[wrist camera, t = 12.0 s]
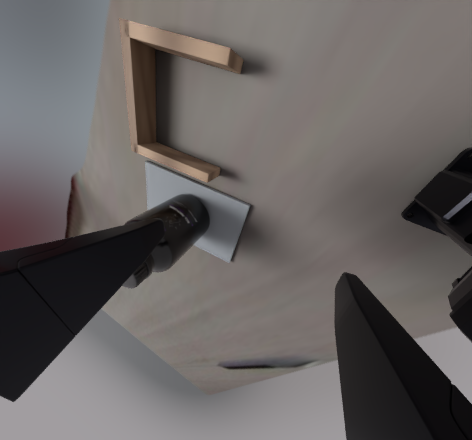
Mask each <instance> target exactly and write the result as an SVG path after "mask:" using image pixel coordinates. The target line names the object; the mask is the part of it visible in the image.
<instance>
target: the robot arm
mask: <svg viewBox="0 0 472 440" xmlns="http://www.w3.org/2000/svg"><path fill="white" fill-rule="evenodd" d="M471 152H472V148H467V149H465V150H464V151H462V152H461V153H460V154H459V155H458V156H457V157H456V158H455V159H454V160H453V161H452V162H451V163H450V164H449V165H448V166H447V167H446V168H445V169H444V170H443V171H441V172H439V173H438V174H437V175H436V176H435V177H434V178H433V179H432V180H431V181H430V182H429V183H428V184H427V185H426V186H425V187H424V188H423V189H422V190H421V191H420V192H419V193H418V194H417V195H416V197H415V200H414V201H413V202H412V203H411V204H410V205H409V206H408V207H407V208H406V209H405V210H404V211H403V212H402V213H401V216H402V217H403V218H404V219H405V220H407V221H410V222H413V223H415V224H418V225H421V226H423V227H426V228H428V229H431V230H434V231H436V232H439V233H441V234H444V235H447V236H448V237H449V238H451V239H452V240H453V241H454V242H455V243H457V244H458V245H459V246H460V247H461V248H463V249H464V250H465V251H466V252H467V253H469V254H470V255H471V256H472V156H471V157H470V158H468V155H469V154H470V153H471ZM409 213H412V214H411V215H410V216H407V214H409ZM164 235H165V228H164V223H163V221H162V220H161V219H157V218H153V219H149V220H144V221H140V222H136V223H131V224H127V225H123V226H118V227H114V228H110V229H105V230H101V231H97V232H92V233H88V234H84V235H79V236H75V237H70V238H66V239H62V240H57V241H53V242H48V243H43V244H38V245H33V246H28V247H23V248H18V249H13V250H7V251H2V252H0V396H2V397H4V398H6V399H8V400H10V401H12V402H14V401H16V399H18V398H19V397H20V396H21V395H22V394H23V393H24V392H25V390H26V389H27V388H28V387H29V386H30V385H31V384H32V383H33V382H34V381H35V380H36V379H37V377H38V376H39V375H40V374H41V373H42V372H43V371H44V370H45V369H46V368H47V367H48V365H50V363H51V362H52V361H53V360H54V359H55V358H56V357H57V356H58V355H59V354H60V353H61V352H62V350H63V349H64V348H65V347H66V346H67V345H68V344H69V343H70V342H71V341H72V339H73V338H74V337H75V335H77V334H78V333H79V332H80V330H82V328H83V327H84V326H85V325H86V324H87V323H88V322H89V321H90V320H91V319H92V317H93V316H94V315H95V314H96V313H97V312H98V311H99V310H100V309H101V308H102V307H103V306H104V305H105V304H106V302H107V301H108V300H109V299H110V298H111V297H112V296H113V295H114V294H115V293H116V292H117V290H118V289H119V288H120V287H121V286H122V285H123V284H124V283H125V282H126V281H127V280H128V279H129V277H130V276H131V275H132V274H133V273H134V272H135V271H136V270H137V269H138V268H139V267H140V266H141V264H142V263H143V262H144V261H145V260H146V259H147V258H148V257H149V255H150V254H151V253H152V251H153V250H154V249H155V248H156V246H157V245H158V244H159V242H160V241H161V240H162V238H163V237H164ZM452 286H453V289H452V291H451V293H450V294H449V296H448V298H449V302H450V306H451V309H452V312H451V313H450V317H451V318H452V320H453V321H454V322H455V324H456V325H457V326H458V328H459V329H460V330H461V332H462V333H463V334H464V335H465V336H466V337H467V338H468V339H469V340H470V341H471V342H472V267H471V268H470V269H469V270H468V271H467V272H466V273H465V274H464V275H463V276H462V277H461V278H457V279H456V280H455V281H454V282H453V283H452ZM335 336H336V346H337V355H338V364H339V374H340V383H341V393H342V402H343V411H344V420H345V430H346V438H347V440H472V404H471V403H470V402H469V401H468V400H467V398H466V397H465V396H464V395H463V394H462V393H461V392H460V391H459V390H458V388H457V387H456V386H455V385H453V384H451V381H450V380H449V379H448V377H447V376H446V375H445V374H444V373H443V372H442V371H441V370H440V368H439V367H438V366H437V365H436V364H435V363H434V362H433V361H432V359H431V358H430V357H429V356H428V355H427V354H426V353H425V352H424V351H423V350H422V348H421V347H420V346H419V345H418V344H417V343H416V342H415V340H414V339H413V338H412V337H411V336H410V335H409V334H408V333H407V332H406V330H405V329H404V328H403V327H402V326H401V325H400V324H399V323H398V321H397V320H396V319H395V318H394V317H393V316H392V315H391V314H390V313H389V311H388V310H387V309H386V308H385V307H384V306H383V305H382V304H381V303H380V301H379V300H378V299H377V298H376V297H375V296H374V295H373V294H372V292H371V291H370V290H369V289H368V288H367V287H366V286H365V285H364V284H363V282H362V281H361V280H360V279H359V278H358V277H357V276H356V275H354V274H350V273H347V272H344V273H343V274H342V276H341V277H340V279H339V281H338V283H337V285H336V288H335Z"/></svg>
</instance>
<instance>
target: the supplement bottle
mask: <svg viewBox="0 0 472 440" xmlns="http://www.w3.org/2000/svg"><path fill="white" fill-rule="evenodd" d="M153 218H157V219H161V220H162V221H163V223H164V228H165V235H164V237H163V238H162V240H161V241H160V242H159V244H158V245H157V246H156V248H155V249H154V250H153V251H152V253H151V254H150V255H149V257H148V258H147V259H146V260H145V261H144V262H143V263H142V264H141V266H140V267H139V268H138V269H137V270H136V271H135V272H134V273H133V274H132V275H131V276H130V277H129V279H128V280H127V281H126V282H125V283H124V284H123V285H122V286H124V287H127V288H131V289H132V288H135V287H137V286H138V285H139V284H140V283H141V282H142V281H143V280H144V279H146V278H148V277H149V276H150V275H151V273H152V272H163V271H166V270H168V269H169V268H171V267H172V266H173V265H174V264H175V263H176V262H177V261H178V260H179V259H180V258H181V257H182V256H183V255H184V254H185V253H186V252H187V251H188V250H189V249H190V248H191V247H192V246H193V245H194V244H195V243H196V242H197V241H198V240H199V239H200V238H201V237H202V236H203V235H204V234H205V233H206V231H207V230H208V228H209V225H210V216H209V213H208V211H207V209H206V207H205V205H204V204H203V203H202V202H201V201H200V200H199V199H197V198H196V197H194V196H192V195H188V194H180V195H177V196H175V197H173V198H171V199H169V200H167V201H165V202H163V203H161V204H159V205H157V206H155V207H153V208H152V209H150V210H148V211H146V212H144V213H142V214H140V215H138V216H136V217H134V218H132V219H131V220H129V221H128V222H126V223H125V225H127V224H131V223H136V222H140V221H144V220H149V219H153Z"/></svg>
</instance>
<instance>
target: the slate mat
mask: <svg viewBox="0 0 472 440" xmlns="http://www.w3.org/2000/svg"><path fill="white" fill-rule="evenodd" d="M145 167H146V186H147V206H148V210H150V209H152V208H153V207H155V206H157V205H159V204H161V203H163V202H165V201H167V200H169V199H171V198H173V197H175V196H177V195H180V194H188V195H192V196H194V197H196V198H197V199H199V200H200V201H201V202H202V203H203V204H204V205H205V207H206V209H207V211H208V213H209V216H210V225H209V228H208V230H207V231H206V233H205V234H204V235H203V236H202V237H201V238H200V239H199V240H198V241H197V242H196V243H195V244H194V246H196V247H198V248H200V249H202V250H204V251H206V252H208V253H210V254H212V255H214V256H216V257H218V258H220V259H222V260H224V261H226V262H228V263H230V261H231V258H232V256H233V253H234V250H235V247H236V244H237V242H238V239H239V236H240V233H241V230H242V228H243V225H244V222H245V219H246V217H247V214H248V211H249V208H250V204H248V203H246V202H243V201H241V200H239V199H236V198H234V197H232V196H229V195H227V194H225V193H222V192H220V191H218V190H215V189H213V188H211V187H208V186H206V185H204V184H201V183H199V182H197V181H194V180H192V179H190V178H187V177H185V176H183V175H180V174H178V173H176V172H173V171H171V170H169V169H166V168H164V167H162V166H159V165H157V164H155V163H152V162H150V161H145Z"/></svg>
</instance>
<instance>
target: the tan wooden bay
mask: <svg viewBox="0 0 472 440" xmlns="http://www.w3.org/2000/svg"><path fill="white" fill-rule="evenodd" d="M119 23H120V34H121V45H122V55H123V66H124V77H125V87H126V98H127V108H128V119H129V130H130V140H131V151H134V152H136V153H138V154H141V155H143V156H146V157H148V158H150V159H153V160H155V161H157V162H160V163H162V164H164V165H167V166H169V167H171V168H174V169H176V170H179V171H181V172H183V173H186V174H188V175H190V176H193V177H195V178H197V179H200V180H202V181H204V182H209V181H211V180H213V179H214V178H216V177H218V176H219V174H220V169H221V168H219V167H217V166H214V165H212V164H209V163H207V162H204V161H202V160H199V159H197V158H195V157H192V156H190V155H187V154H185V153H182V152H180V151H177V150H175V149H172V148H170V147H167V146H165V145H162V144H160V143H157V142H156V68H155V49H157V50H160V51H163V52H167V53H170V54H174V55H177V56H180V57H184V58H187V59H191V60H194V61H197V62H201V63H204V64H207V65H211V66H214V67H218V68H221V69H224V70H228V71H231V72H235V73H238V74H240V73H241V69H242V64H243V59H242V58H241V57H240V56H239V55H237V54H236V53H235V52H234V51H233V50H232V49H231V48H228V47H225V46H221V45H217V44H213V43H210V42H206V41H202V40H199V39H195V38H191V37H188V36H184V35H180V34H176V33H173V32H169V31H165V30H162V29H158V28H154V27H150V26H147V25H143V24H139V23H136V22H132V21H128V20H125V19H121V18H119Z"/></svg>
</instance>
